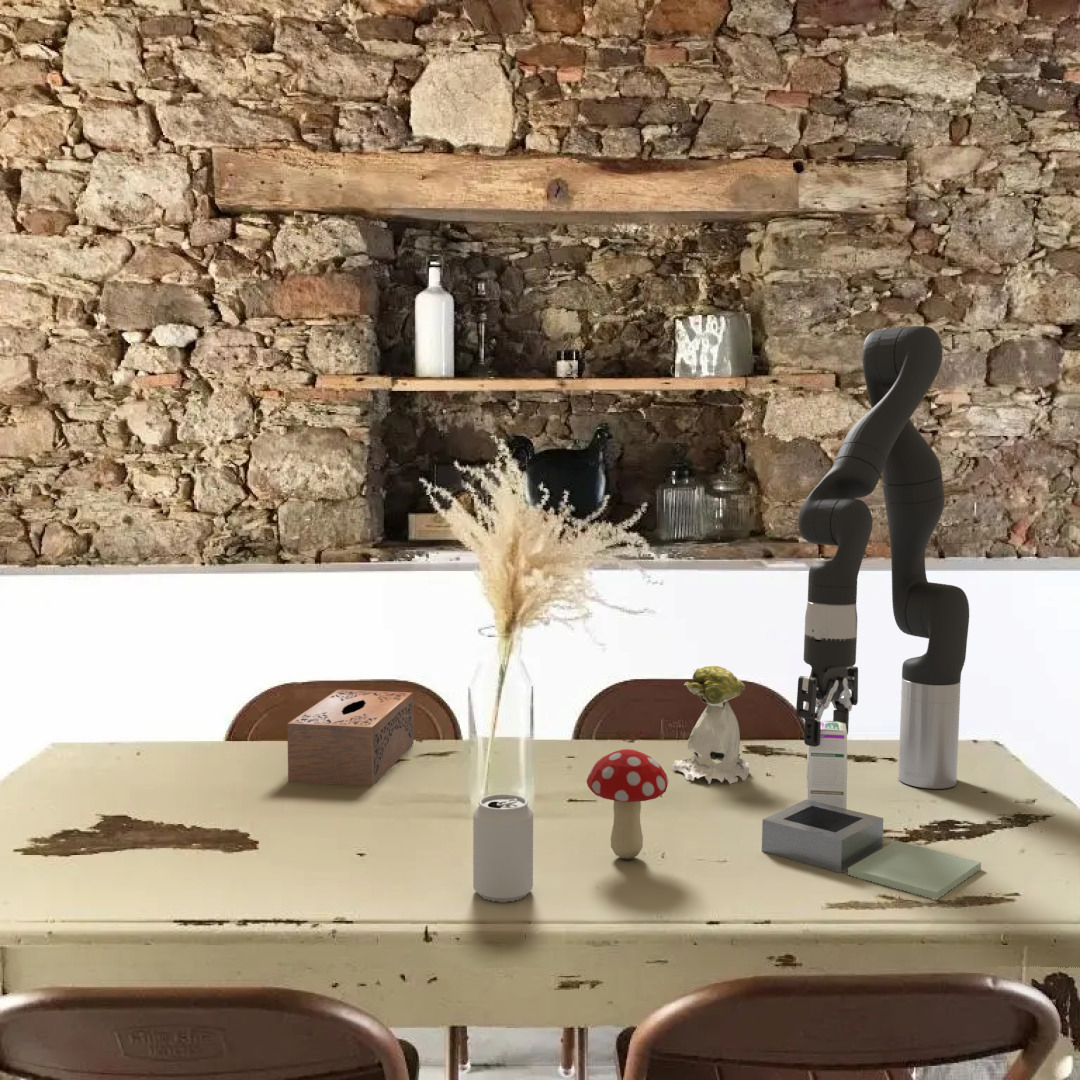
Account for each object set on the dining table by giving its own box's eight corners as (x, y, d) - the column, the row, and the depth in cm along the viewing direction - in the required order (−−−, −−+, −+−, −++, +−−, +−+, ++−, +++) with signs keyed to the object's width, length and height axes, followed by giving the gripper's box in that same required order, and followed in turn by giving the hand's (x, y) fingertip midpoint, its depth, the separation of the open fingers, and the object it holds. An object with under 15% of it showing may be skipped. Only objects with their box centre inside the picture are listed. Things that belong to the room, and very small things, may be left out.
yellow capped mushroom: (727, 760, 206) (729, 657, 204) (762, 781, 194) (765, 672, 192) (664, 765, 202) (666, 661, 201) (696, 787, 190) (698, 676, 188)
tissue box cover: (338, 742, 218) (337, 689, 217) (413, 745, 216) (413, 692, 215) (288, 782, 192) (287, 723, 191) (372, 787, 190) (372, 727, 189)
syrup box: (846, 827, 171) (849, 730, 170) (805, 824, 173) (808, 728, 171) (844, 814, 177) (847, 721, 176) (804, 812, 178) (807, 719, 177)
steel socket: (805, 829, 170) (806, 799, 170) (882, 849, 162) (883, 818, 162) (761, 851, 161) (762, 819, 161) (840, 873, 153) (841, 840, 153)
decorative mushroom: (608, 878, 151) (609, 765, 150) (572, 850, 161) (573, 744, 160) (682, 866, 156) (684, 756, 154) (642, 839, 166) (644, 736, 164)
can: (472, 882, 150) (472, 791, 149) (530, 880, 150) (531, 790, 149) (474, 906, 142) (474, 810, 141) (535, 904, 143) (535, 808, 142)
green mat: (895, 847, 163) (895, 840, 163) (980, 869, 155) (981, 862, 155) (847, 875, 153) (848, 867, 153) (936, 900, 145) (936, 892, 145)
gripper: (831, 624, 180) (827, 727, 181) (783, 634, 169) (779, 744, 171) (876, 630, 175) (871, 736, 176) (829, 641, 164) (825, 754, 166)
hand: (826, 740), depth 174 cm, fingers open, 8 cm apart
